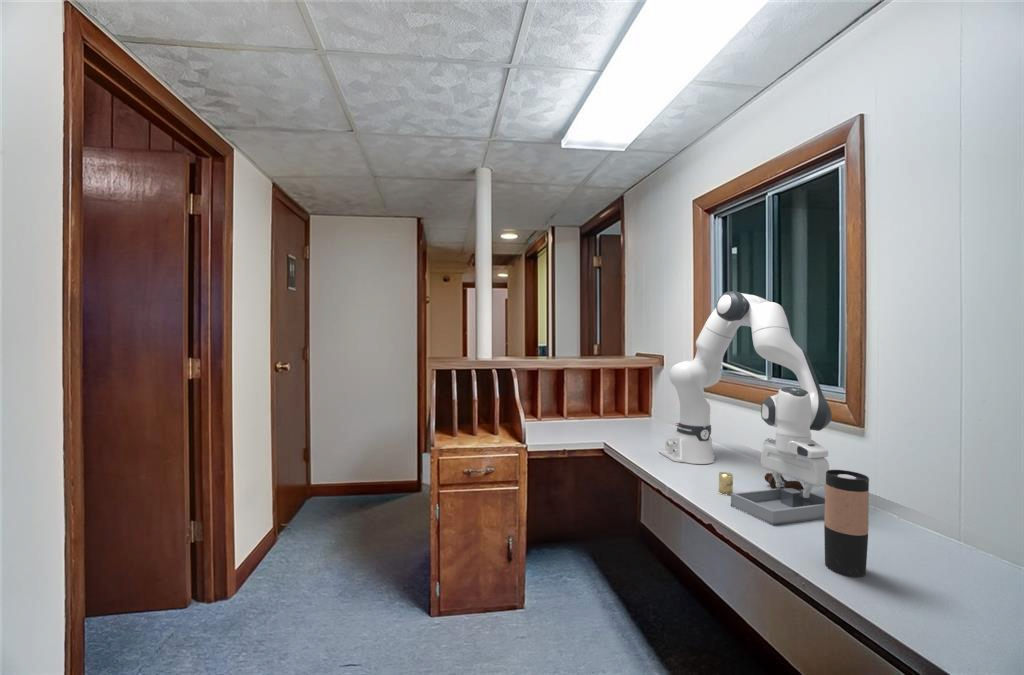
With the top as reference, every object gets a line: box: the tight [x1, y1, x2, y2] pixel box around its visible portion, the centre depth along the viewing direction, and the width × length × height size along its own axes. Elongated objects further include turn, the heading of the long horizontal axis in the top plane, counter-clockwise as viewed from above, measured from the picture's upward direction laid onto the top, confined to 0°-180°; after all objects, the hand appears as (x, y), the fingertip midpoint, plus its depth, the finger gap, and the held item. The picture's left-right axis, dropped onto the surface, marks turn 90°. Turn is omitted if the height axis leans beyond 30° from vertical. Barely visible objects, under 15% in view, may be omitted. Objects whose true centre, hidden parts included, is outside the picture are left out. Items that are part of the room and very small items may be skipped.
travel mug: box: [823, 469, 870, 578], centre depth 102 cm, size 8×8×20 cm
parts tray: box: [730, 488, 825, 526], centre depth 136 cm, size 15×24×4 cm, turn 108°
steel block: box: [781, 488, 803, 508], centre depth 139 cm, size 4×4×4 cm
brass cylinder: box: [718, 471, 734, 496], centre depth 150 cm, size 4×4×6 cm
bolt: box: [764, 472, 805, 490], centre depth 151 cm, size 6×5×15 cm
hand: (792, 492), depth 139 cm, fingers open, 7 cm apart
